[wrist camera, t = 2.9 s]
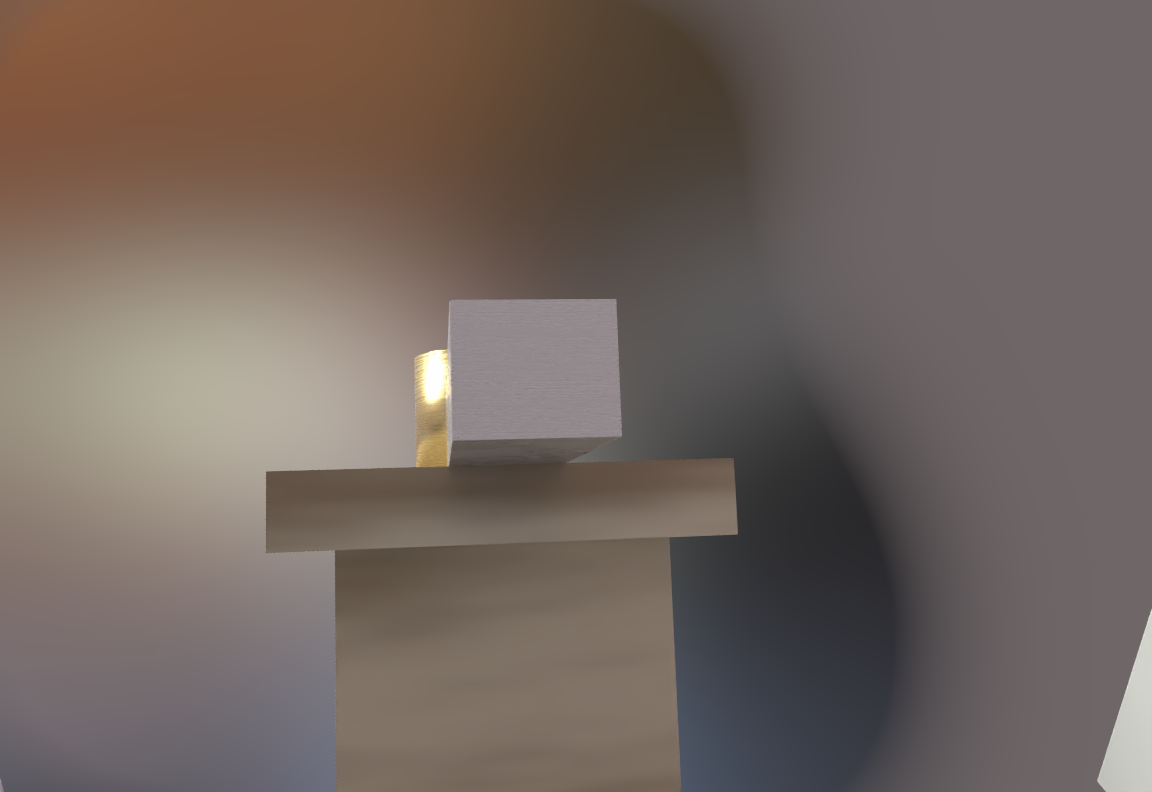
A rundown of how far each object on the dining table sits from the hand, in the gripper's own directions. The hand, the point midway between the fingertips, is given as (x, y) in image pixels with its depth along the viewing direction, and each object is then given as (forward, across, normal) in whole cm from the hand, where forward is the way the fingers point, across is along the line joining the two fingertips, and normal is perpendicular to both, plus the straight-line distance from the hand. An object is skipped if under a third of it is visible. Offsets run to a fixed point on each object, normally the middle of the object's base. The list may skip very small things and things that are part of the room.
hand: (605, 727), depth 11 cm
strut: (+15, 0, -4) cm, 15 cm away
